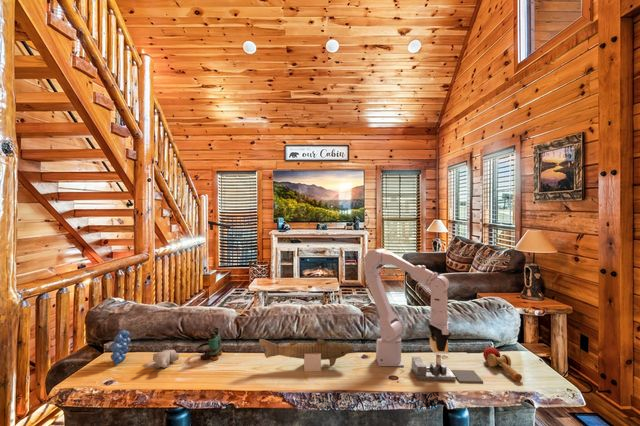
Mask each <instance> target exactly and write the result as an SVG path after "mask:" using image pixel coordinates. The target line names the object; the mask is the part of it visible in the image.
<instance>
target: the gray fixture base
mask: <svg viewBox="0 0 640 426" xmlns="http://www.w3.org/2000/svg"><path fill="white" fill-rule="evenodd" d="M410 366H411V370H412V373H413V375H414V376H415V378H416V380H417V381H428V382H429V381H430V382H431V381H435V382H438V381H439V382H440V381H441V382H456V380H457V379H456V377H455V375H454V374H453V373H452V371H451V370H452V369H450V367H449V366H448V365H447V364H445V363H444V362H442V358H441V355H439V354H435V362H429V364H425V363H424V361H423V360H422V358H421V356H411V365H410Z"/></svg>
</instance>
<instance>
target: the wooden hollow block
mask: <svg viewBox="0 0 640 426" xmlns="http://www.w3.org/2000/svg"><path fill="white" fill-rule="evenodd" d="M429 348H430V349H431V350H432V352H433V353H435V352H439V353H449V341H448V340H447V343H446V347H445V350H444V351H438V349H437V342H436V337H435V336H431V335H429Z"/></svg>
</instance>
